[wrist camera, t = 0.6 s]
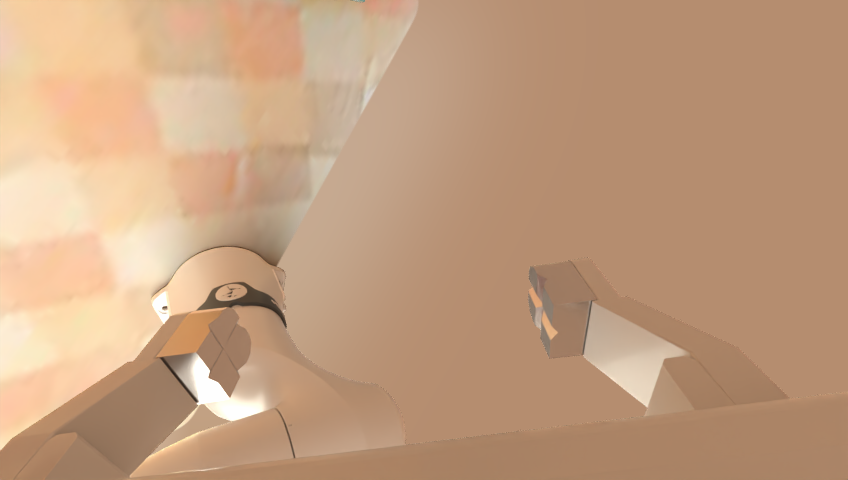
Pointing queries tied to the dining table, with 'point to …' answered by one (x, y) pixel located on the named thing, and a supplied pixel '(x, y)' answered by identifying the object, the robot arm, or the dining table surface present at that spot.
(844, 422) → the robot arm
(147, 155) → the dining table surface
